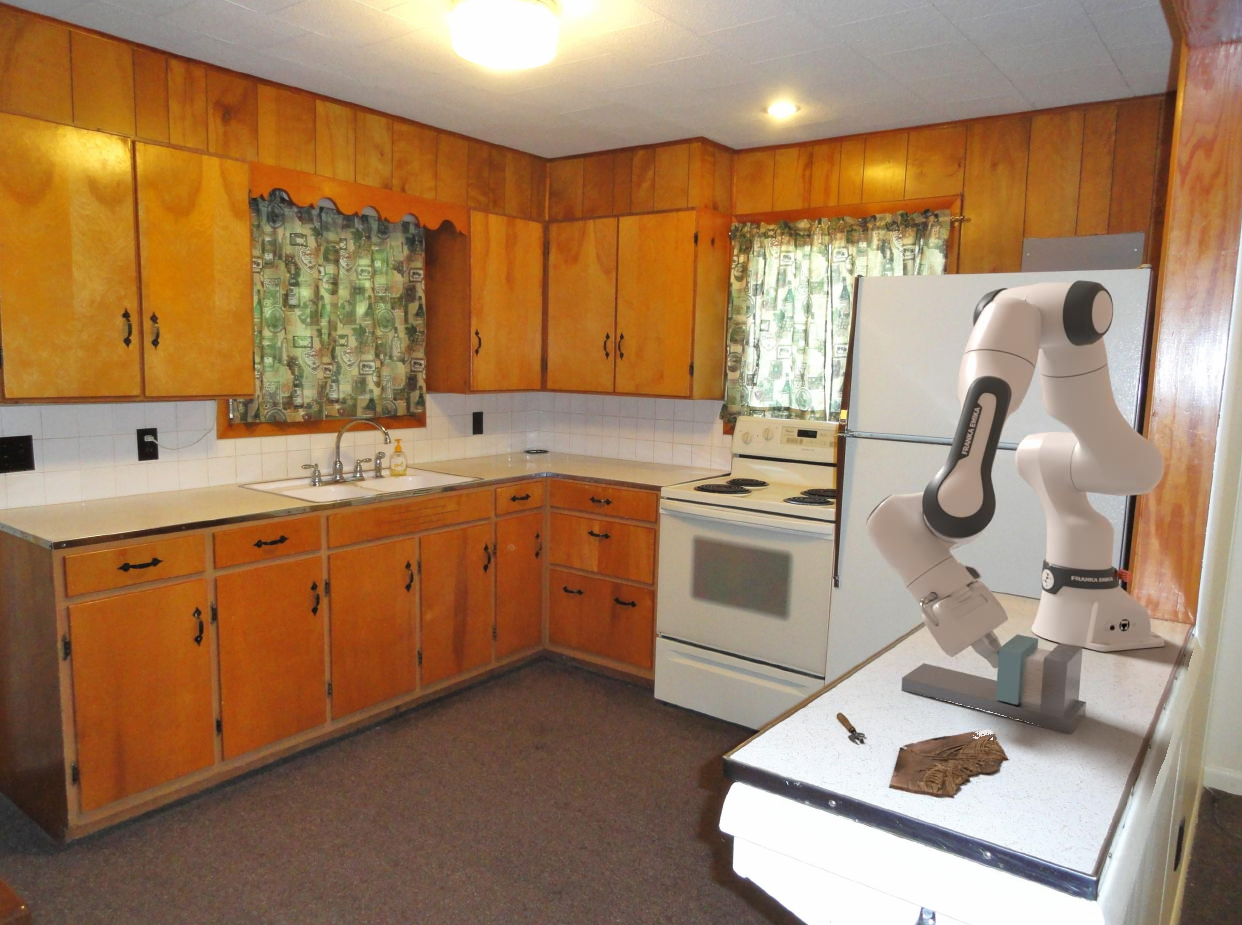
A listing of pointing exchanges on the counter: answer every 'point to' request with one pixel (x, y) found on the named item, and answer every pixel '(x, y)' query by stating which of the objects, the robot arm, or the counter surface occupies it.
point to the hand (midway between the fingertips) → (1002, 664)
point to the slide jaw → (1012, 667)
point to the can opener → (850, 729)
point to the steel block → (1033, 677)
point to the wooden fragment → (945, 763)
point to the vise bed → (978, 692)
